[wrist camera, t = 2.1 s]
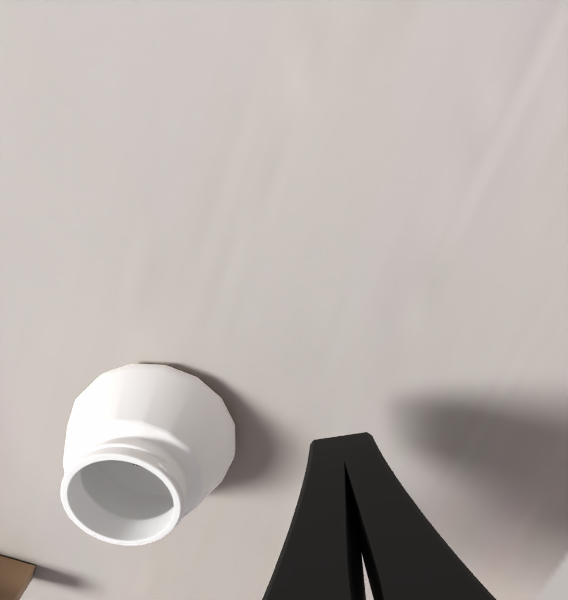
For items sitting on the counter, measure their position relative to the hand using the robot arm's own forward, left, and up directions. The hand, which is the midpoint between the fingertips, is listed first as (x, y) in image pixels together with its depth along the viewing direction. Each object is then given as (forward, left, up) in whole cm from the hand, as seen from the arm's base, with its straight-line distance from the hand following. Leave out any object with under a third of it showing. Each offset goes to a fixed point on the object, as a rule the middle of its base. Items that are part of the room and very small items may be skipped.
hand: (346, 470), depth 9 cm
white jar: (0, +6, -3) cm, 7 cm away
